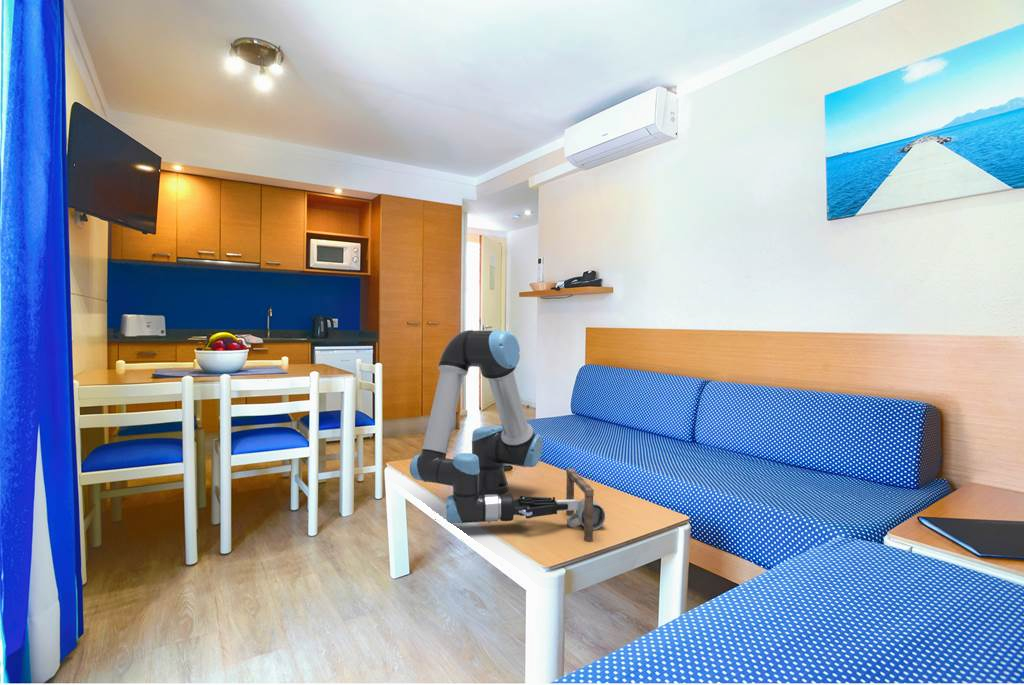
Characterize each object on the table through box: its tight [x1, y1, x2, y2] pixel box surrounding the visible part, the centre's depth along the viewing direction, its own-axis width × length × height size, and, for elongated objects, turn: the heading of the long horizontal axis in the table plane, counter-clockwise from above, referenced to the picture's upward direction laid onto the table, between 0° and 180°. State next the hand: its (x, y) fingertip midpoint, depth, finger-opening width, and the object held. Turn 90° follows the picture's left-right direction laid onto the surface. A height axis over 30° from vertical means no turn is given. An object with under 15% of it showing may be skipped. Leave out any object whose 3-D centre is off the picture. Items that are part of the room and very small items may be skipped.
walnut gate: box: [565, 467, 595, 543], centre depth 146 cm, size 22×2×14 cm, turn 8°
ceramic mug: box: [566, 498, 606, 531], centre depth 147 cm, size 11×8×8 cm
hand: (577, 504), depth 146 cm, fingers closed
